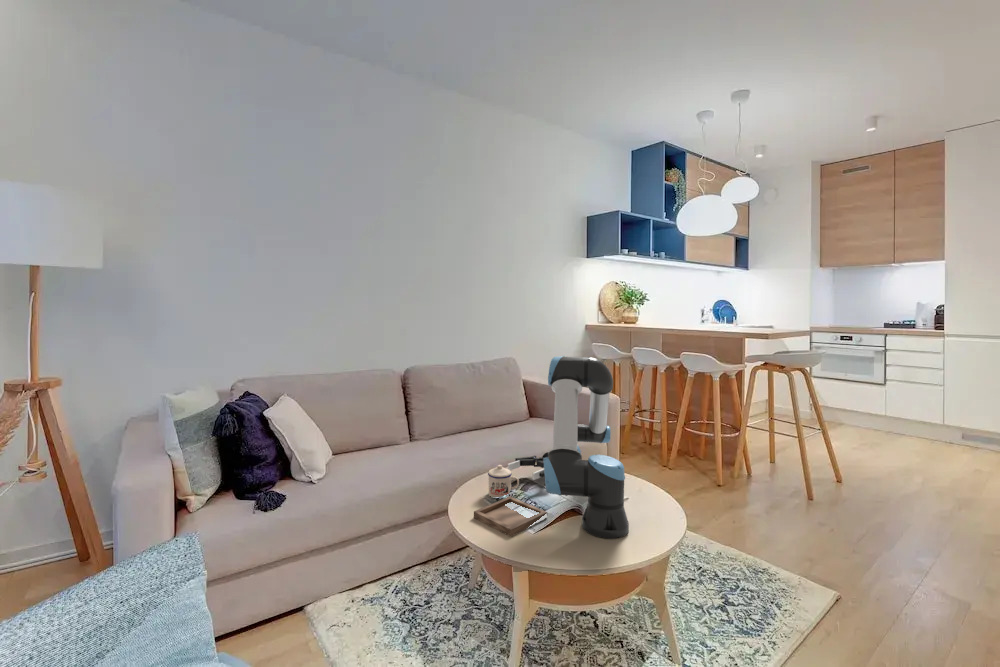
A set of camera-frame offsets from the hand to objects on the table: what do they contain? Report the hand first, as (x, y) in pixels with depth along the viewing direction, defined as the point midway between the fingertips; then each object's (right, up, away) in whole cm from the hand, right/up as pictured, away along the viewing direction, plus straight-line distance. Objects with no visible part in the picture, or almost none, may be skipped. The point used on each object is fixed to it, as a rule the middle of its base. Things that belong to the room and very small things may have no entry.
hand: (520, 471), depth 188 cm
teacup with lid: (-7, -7, -6) cm, 12 cm away
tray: (-5, -8, -26) cm, 27 cm away
